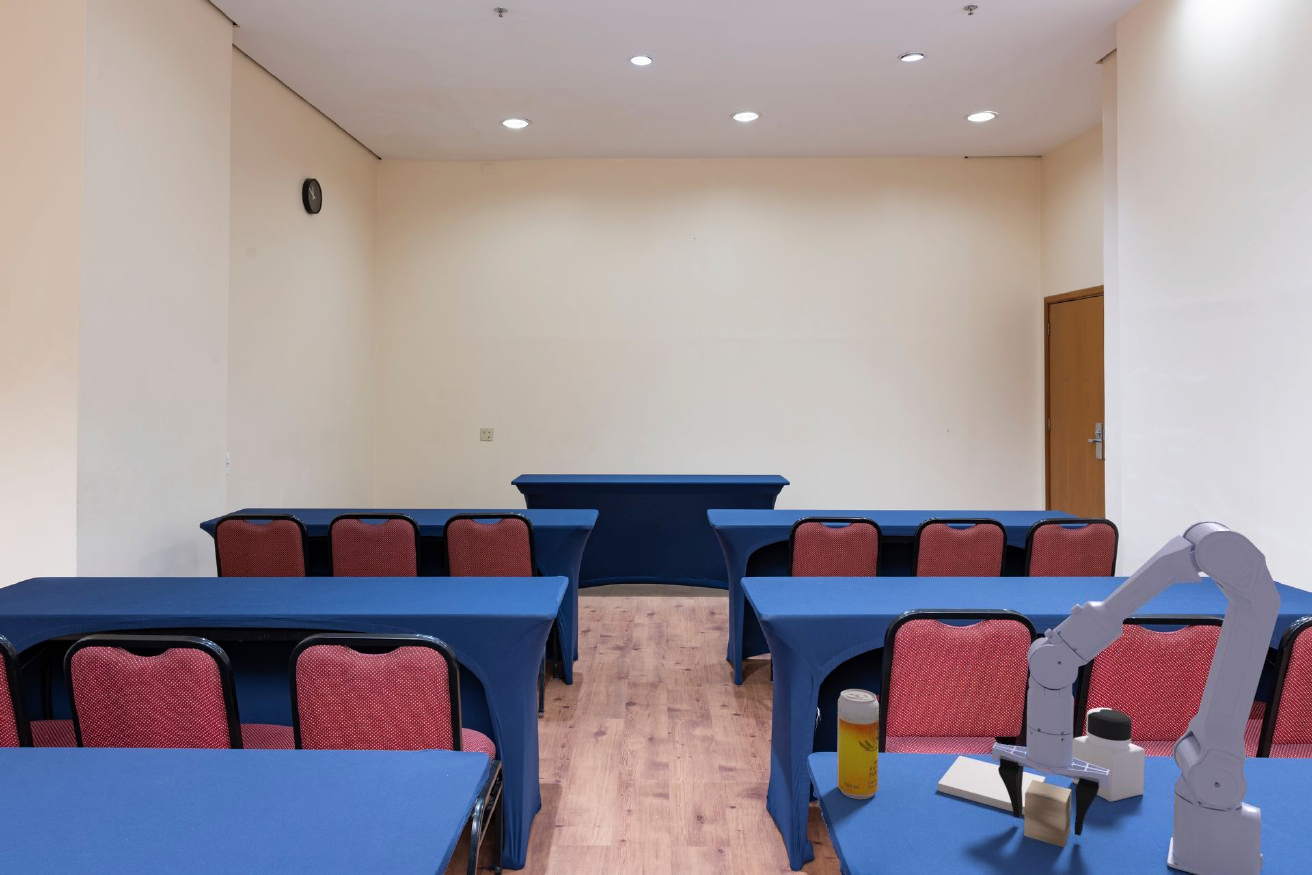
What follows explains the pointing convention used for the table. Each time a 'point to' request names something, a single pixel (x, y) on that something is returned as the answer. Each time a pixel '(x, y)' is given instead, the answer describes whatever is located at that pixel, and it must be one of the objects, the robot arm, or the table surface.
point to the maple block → (1047, 813)
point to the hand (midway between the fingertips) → (1047, 823)
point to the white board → (981, 783)
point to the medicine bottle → (1112, 753)
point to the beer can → (857, 743)
